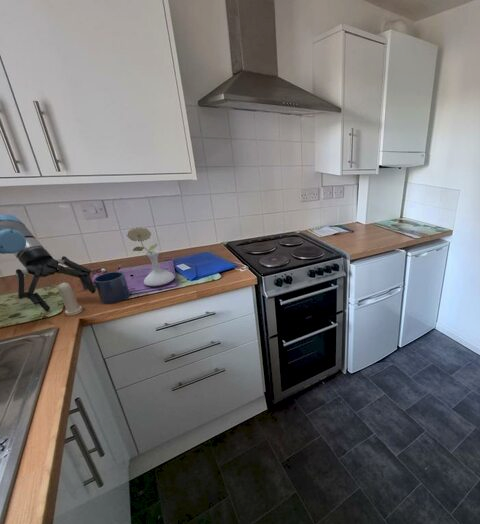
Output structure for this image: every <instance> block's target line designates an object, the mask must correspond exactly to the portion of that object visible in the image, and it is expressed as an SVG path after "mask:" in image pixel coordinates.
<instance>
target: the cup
mask: <svg viewBox="0 0 480 524" xmlns="http://www.w3.org/2000/svg"><path fill="white" fill-rule="evenodd" d="M101 274H102V275H100V276H97V277H96V278H95V279H94V283H93V284H94V286H96V287H95V289H96V291H97V293H98V296H99V300H100V301H101V303H102V304H114V303H119V302H121V301H124V300H127V299H128V297H130V295H131V292H130V289H129V285H128V283H127V280H126V277H125V274H124V273H123V272H122V271H121V272H120V271H109V272H107V273H106V274H103V273H101Z"/></svg>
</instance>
